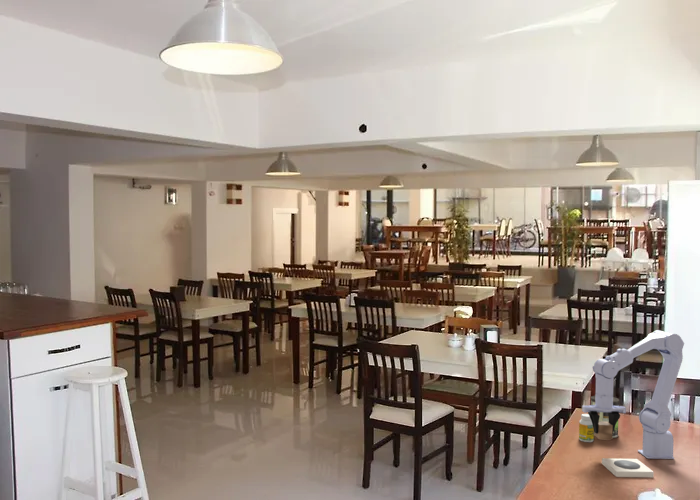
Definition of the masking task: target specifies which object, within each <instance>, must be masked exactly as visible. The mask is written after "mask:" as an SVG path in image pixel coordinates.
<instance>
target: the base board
mask: <svg viewBox="0 0 700 500" xmlns="http://www.w3.org/2000/svg"><path fill="white" fill-rule="evenodd" d="M601 464H602V465H603V466H604V467H605V468H606V469H607V470H608V471H609V472H610V473H611V474H613V475H614V477H616V478H654V476H655V475H654V474H655V473H654V470H652V469H651V468H650V467H648V466H647V465H645V463H643V462H642V461H640V459H638V458H612V457H611V458H604V457H602V458H601Z"/></svg>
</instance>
